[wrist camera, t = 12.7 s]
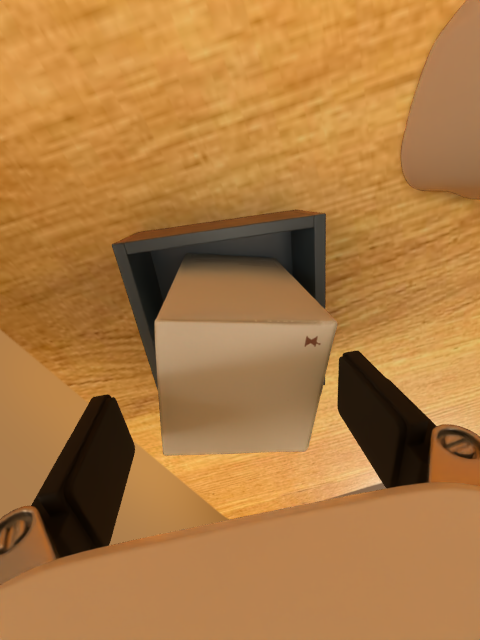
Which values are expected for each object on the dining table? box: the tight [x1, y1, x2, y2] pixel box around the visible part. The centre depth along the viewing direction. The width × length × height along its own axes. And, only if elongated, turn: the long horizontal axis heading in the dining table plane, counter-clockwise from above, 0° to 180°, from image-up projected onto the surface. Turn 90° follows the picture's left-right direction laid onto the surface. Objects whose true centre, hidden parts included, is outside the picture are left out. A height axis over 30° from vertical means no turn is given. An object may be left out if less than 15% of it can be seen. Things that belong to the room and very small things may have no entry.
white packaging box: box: [155, 253, 337, 455], centre depth 17 cm, size 7×7×13 cm
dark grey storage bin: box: [112, 210, 326, 389], centre depth 21 cm, size 12×12×6 cm
